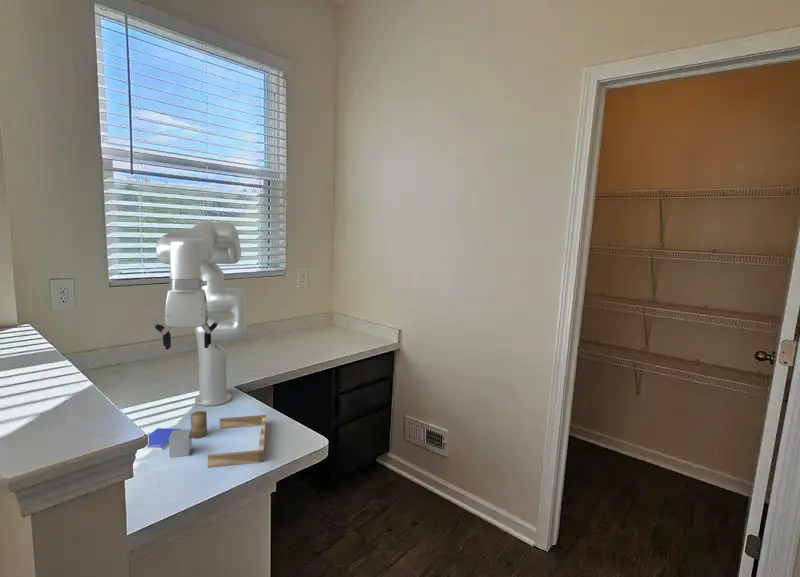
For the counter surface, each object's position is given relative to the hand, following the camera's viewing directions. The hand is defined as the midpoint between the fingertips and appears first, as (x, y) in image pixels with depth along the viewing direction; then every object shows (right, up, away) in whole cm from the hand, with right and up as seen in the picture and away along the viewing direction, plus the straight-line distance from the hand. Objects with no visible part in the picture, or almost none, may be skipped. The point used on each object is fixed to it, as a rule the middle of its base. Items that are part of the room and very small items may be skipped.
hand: (187, 347), depth 122 cm
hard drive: (-15, -30, +13) cm, 36 cm away
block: (-4, -31, +6) cm, 32 cm away
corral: (+9, -30, +12) cm, 34 cm away
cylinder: (-4, -30, +17) cm, 34 cm away
